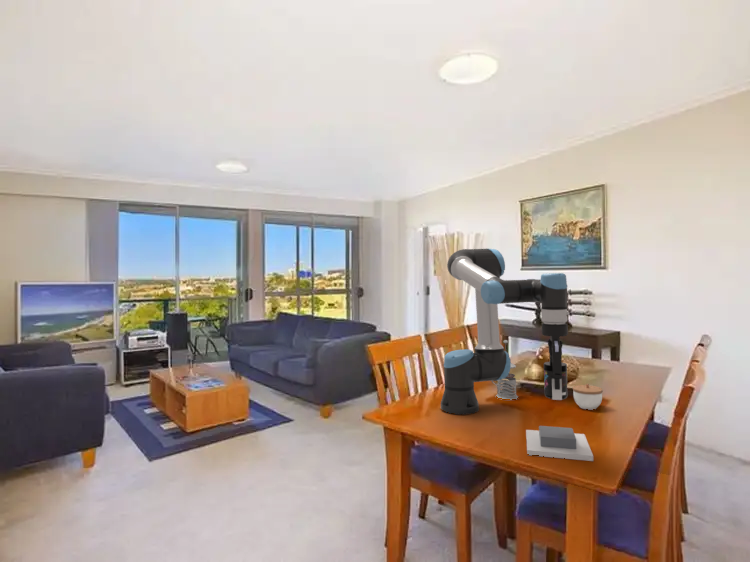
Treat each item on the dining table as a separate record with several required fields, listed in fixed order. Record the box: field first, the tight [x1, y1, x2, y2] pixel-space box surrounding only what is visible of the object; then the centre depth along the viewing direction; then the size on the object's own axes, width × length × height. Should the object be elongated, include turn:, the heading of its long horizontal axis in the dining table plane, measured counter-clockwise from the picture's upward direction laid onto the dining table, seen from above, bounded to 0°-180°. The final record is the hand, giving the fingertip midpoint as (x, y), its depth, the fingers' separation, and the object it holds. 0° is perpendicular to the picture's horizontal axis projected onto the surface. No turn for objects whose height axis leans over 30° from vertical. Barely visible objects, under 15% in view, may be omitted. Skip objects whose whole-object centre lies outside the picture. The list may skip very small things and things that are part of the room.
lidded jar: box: [572, 383, 604, 411], centre depth 179 cm, size 11×11×9 cm
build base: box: [525, 425, 594, 462], centre depth 140 cm, size 18×18×4 cm
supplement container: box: [543, 361, 568, 400], centre depth 140 cm, size 7×7×10 cm
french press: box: [491, 339, 519, 401], centre depth 197 cm, size 10×12×25 cm
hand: (556, 396), depth 140 cm, fingers closed on supplement container, 7 cm apart
